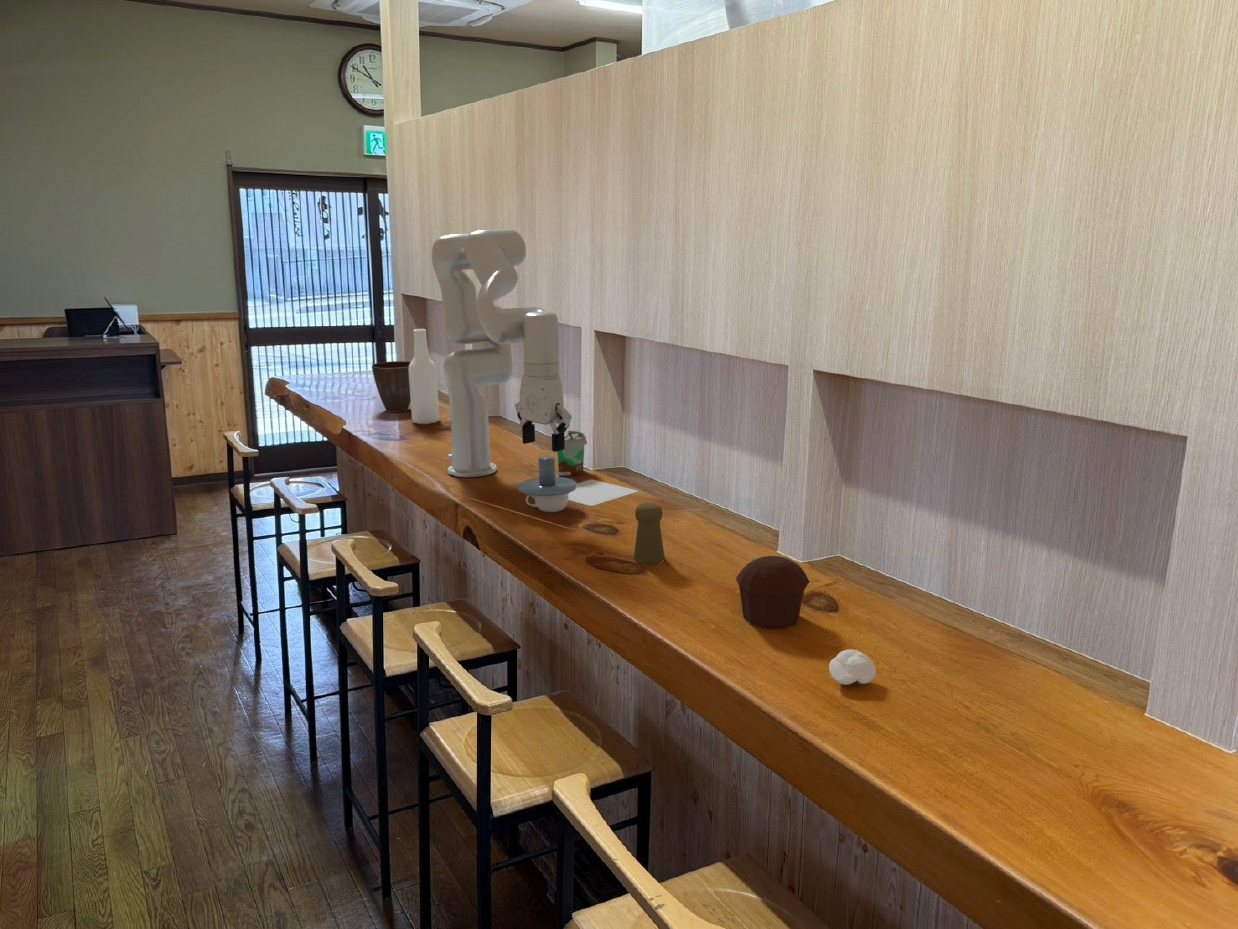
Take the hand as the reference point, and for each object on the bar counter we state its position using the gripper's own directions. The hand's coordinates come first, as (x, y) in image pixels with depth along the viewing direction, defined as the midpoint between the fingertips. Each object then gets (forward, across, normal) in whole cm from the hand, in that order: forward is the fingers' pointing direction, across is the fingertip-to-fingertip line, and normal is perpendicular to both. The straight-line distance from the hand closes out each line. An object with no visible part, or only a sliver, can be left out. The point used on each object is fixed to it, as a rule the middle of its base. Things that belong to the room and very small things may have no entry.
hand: (543, 446), depth 208 cm
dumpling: (+12, +93, -26) cm, 97 cm away
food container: (+16, -17, +26) cm, 35 cm away
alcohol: (+18, -101, +39) cm, 110 cm away
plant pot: (+19, -125, +44) cm, 134 cm away
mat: (+15, -1, +16) cm, 22 cm away
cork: (+14, +39, -8) cm, 42 cm away
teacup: (+15, +1, 0) cm, 15 cm away
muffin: (+13, +72, -15) cm, 75 cm away
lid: (+9, +1, 0) cm, 9 cm away
